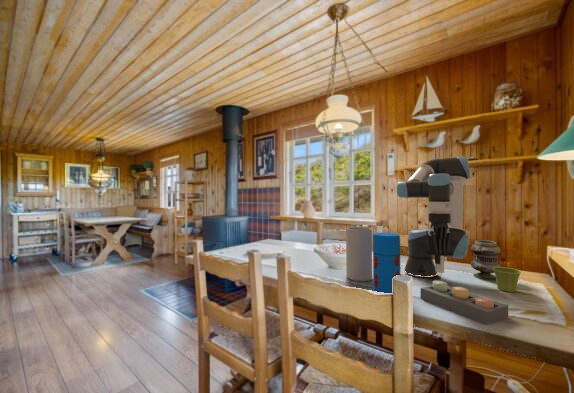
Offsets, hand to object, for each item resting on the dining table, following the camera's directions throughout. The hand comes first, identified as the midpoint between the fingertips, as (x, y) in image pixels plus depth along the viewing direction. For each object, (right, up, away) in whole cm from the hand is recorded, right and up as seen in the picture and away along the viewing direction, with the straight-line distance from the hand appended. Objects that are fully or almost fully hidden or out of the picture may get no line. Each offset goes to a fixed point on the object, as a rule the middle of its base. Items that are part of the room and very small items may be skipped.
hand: (439, 271), depth 102 cm
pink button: (+7, -10, -14) cm, 19 cm away
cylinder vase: (-24, -11, +28) cm, 38 cm away
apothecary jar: (+39, -11, +27) cm, 48 cm away
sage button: (0, -8, 0) cm, 8 cm away
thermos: (-18, -11, +7) cm, 23 cm away
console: (+4, -11, -7) cm, 13 cm away
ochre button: (+4, -8, -7) cm, 11 cm away
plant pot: (+35, -11, +9) cm, 37 cm away
